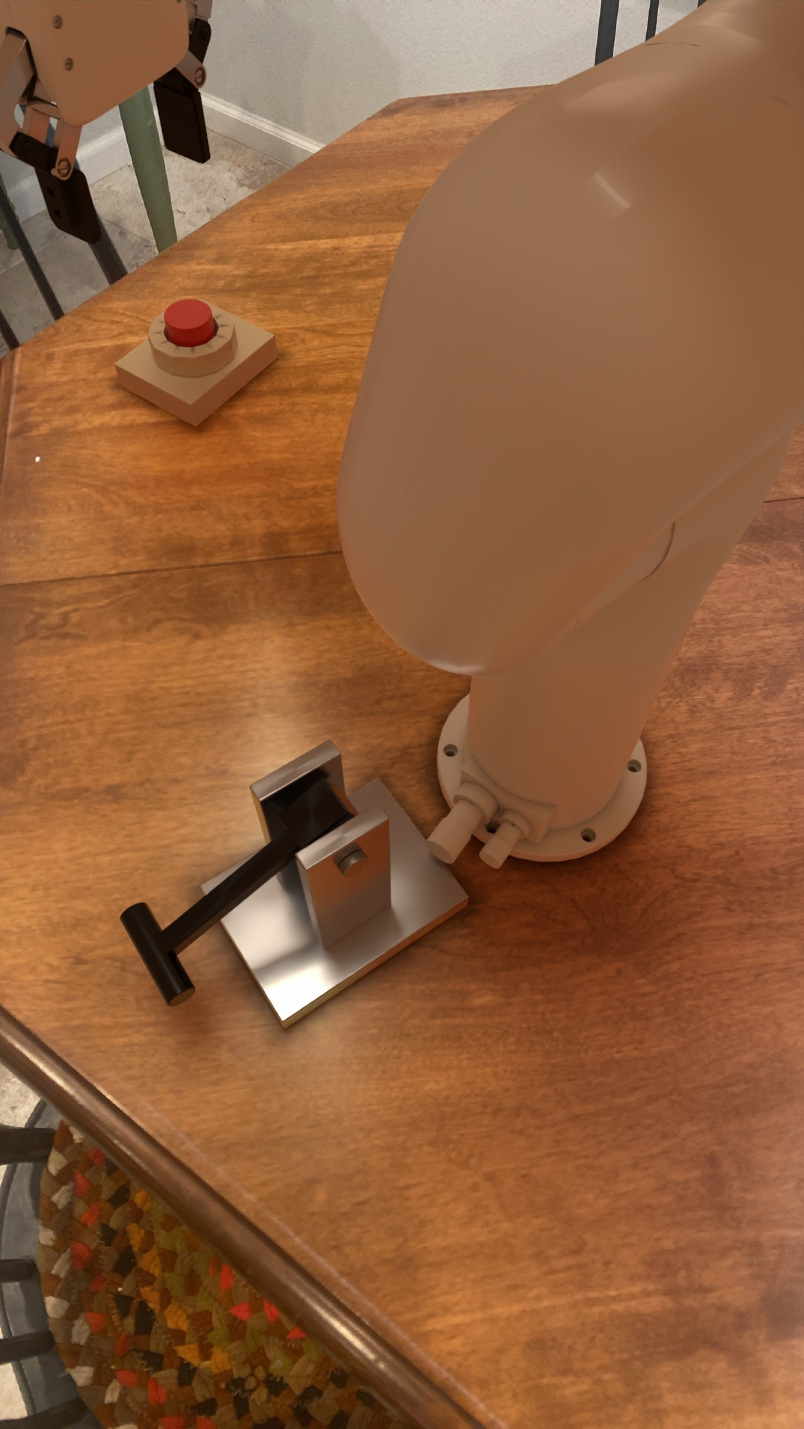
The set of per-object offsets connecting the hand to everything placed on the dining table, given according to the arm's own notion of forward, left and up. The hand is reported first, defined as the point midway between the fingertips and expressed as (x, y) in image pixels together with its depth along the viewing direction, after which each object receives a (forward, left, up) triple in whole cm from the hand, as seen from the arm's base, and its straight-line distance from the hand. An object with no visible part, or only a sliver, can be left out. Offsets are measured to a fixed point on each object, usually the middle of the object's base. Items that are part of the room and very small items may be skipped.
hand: (135, 193), depth 56 cm
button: (+6, +5, -15) cm, 17 cm away
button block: (+6, +5, -19) cm, 20 cm away
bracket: (-23, -31, -19) cm, 43 cm away
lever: (-27, -30, -11) cm, 42 cm away
